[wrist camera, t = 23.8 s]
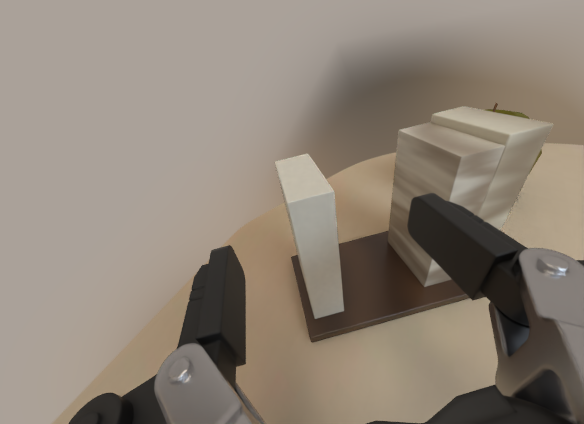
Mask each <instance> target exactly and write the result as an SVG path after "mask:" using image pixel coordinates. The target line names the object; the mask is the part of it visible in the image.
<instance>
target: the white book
mask: <svg viewBox="0 0 584 424" xmlns="http://www.w3.org/2000/svg"><path fill="white" fill-rule="evenodd" d="M275 165H276V169H277V173H278V177H279V181H280V185H281V189H282V193H283V197H284V202H285V206H286V210H287V214H288V218H289V222H290V226H291V230H292V234H293V238H294V242H295V246H296V250H297V254H298V258H299V262H300V266H301V270H302V274H303V277H304V281H305V285H306V288H307V292H308V296H309V300H310V303H311V307H312V311H313V314H314V318H315V319H317V318H320V317H324V316H328V315H331V314H335V313H339V312H342V311H344V303H343V291H342V279H341V267H340V255H339V243H338V231H337V219H336V207H335V195H334V190H333V189H332V187H331V186H330V184H329V183H328V182H327V180H326V179H325V177H324V176H323V174H322V173H321V172H320V170H319V169H318V168H317V166H316V164H315V163H314V161H313V160H312V159H311V157H310V156H309V154H303V155H299V156H296V157H291V158H288V159H284V160H279V161H276V162H275Z"/></svg>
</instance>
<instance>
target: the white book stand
mask: <svg viewBox="0 0 584 424" xmlns="http://www.w3.org/2000/svg"><path fill="white" fill-rule="evenodd" d="M552 126H553V124H552V123H548V122H543V121H537V120H532V119H527V118H522V117H517V116H511V115H506V114H501V113H496V112H491V111H485V110H480V109H475V108H470V107H465V106H463V107H459V108H455V109H451V110H447V111H443V112H439V113H435V114H433V115H432V119H431V122H429V123H425V124H421V125H417V126H413V127H409V128H405V129H402V130H399V133H398V143H397V153H396V163H395V173H394V183H393V193H392V203H391V213H390V223H389V231H386V232H382V233H379V234H375V235H371V236H367V237H364V238H360V239H356V240H352V241H349V242H345V243H341V244H339V255H340V267H341V279H342V291H343V303H344V311H342V312H339V313H335V314H331V315H328V316H324V317H320V318H317V319H315V318H314V314H313V311H312V307H311V303H310V300H309V296H308V292H307V288H306V285H305V281H304V277H303V274H302V270H301V266H300V262H299V258H298V255H296V256H292V257H291V258H292V263H293V267H294V271H295V275H296V280H297V284H298V288H299V292H300V297H301V301H302V305H303V309H304V313H305V318H306V322H307V326H308V330H309V335H310V339H311V342H315V341H318V340H322V339H326V338H329V337H333V336H336V335H340V334H343V333H347V332H350V331H354V330H357V329H361V328H365V327H368V326H372V325H375V324H379V323H382V322H386V321H389V320H393V319H397V318H400V317H404V316H407V315H411V314H414V313H418V312H421V311H425V310H428V309H432V308H436V307H439V306H443V305H446V304H450V303H453V302H457V301H460V300H464V299H467V298H470V297H469V296H468V295H467V294H466V293H465V292H464V291H463V290H462V289H461V288H460V287H459V286H458V285H457V284H456V283H455V282H454V281H453V280H452V279H451V278H450V277H449V276H448V275H447V274H446V272H445V271H444V270H443V269H442V268H441V267H440V266H439V265H438V264H437V263H436V262H435V261H434V260H433V259H432V258H431V257H430V256H429V255H428V254H427V253H426V252H425V251H424V250H423V249H422V248H421V247H420V246H419V245H418V243H417V242H416V241H415V240H414V239H413V238H412V237H411V236H410V234H409V232H408V228H407V223H408V217H409V211H410V205H411V200H412V199H413V198H414V197H417V196H421V195H425V194H428V193H435V194H437V195H438V196H439V197H441V198H442V199H444V200H445V201H450V202H452V203H455V204H458V205H461V206H463V207H465V208H466V209H468V210H469V211H471V212H472V213H474V215H477V216H478V217H480V218H481V219H483V220H484V222H488V223H489V224H491V225H492V226H494V227H495V228H497V229H498V230H501V228H502V226H503V224H504V222H505V220H506V218H507V216H508V214H509V212H510V210H511V208H512V206H513V204H514V202H515V200H516V198H517V196H518V194H519V192H520V190H521V188H522V186H523V184H524V182H525V180H526V178H527V176H528V174H529V172H530V170H531V168H532V166H533V164H534V162H535V160H536V158H537V156H538V154H539V152H540V150H541V148H542V146H543V144H544V142H545V140H546V138H547V136H548V134H549V132H550V130H551V128H552Z"/></svg>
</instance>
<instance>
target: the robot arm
mask: <svg viewBox="0 0 584 424" xmlns="http://www.w3.org/2000/svg"><path fill="white" fill-rule="evenodd" d="M407 228H408V232H409V234H410V236H411V237H412V238H413V239H414V240H415V241H416V242H417V243H418V245H419V246H420V247H421V248H422V249H423V250H424V251H425V252H426V253H427V254H428V255H429V256H430V257H431V258H432V259H433V260H434V261H435V262H436V263H437V264H438V265H439V266H440V267H441V268H442V269H443V270H444V271H445V272H446V274H447V275H448V276H449V277H450V278H451V279H452V280H453V281H454V282H455V283H456V284H457V285H458V286H459V287H460V288H461V289H462V290H463V291H464V292H465V293H466V294H467V295H468V296H469V297H470V298H471V299H472V300H476V299H479V298H483V297H487V298H488V299H489V300H490V301H491V302H490V303H489V312H490V317H491V323H492V328H493V333H494V339H495V344H496V350H497V355H498V368H497V371H496V378H495V385H492V386H489V387H486V388H482V389H479V390H476V391H473V392H469V393H466V394H463V395H459V396H457V397H455V398H454V399H453V400H452V401H451V402H450V403H448V404H447V405H446V406H445V407H444V408H442V409H441V410H440V411H439V412H438V413H437V414H435V415H434V416H433V417H432V418H431V419H430V420H428V421H427V422H425V423H404V422H388V421H374V422H370V423H367V424H584V260H574V259H573V258H571V257H569V256H567V255H565V254H562V253H559V252H556V251H553V250H549V249H543V248H530V249H528V248H526V247H525V246H523V245H521V244H520V243H518V242H517V241H515V240H514V239H512V238H511V237H509V236H508V235H506V234H505V233H503V232H501V231H500V230H498V229H497V228H495V227H494V226H492V225H491V224H489V223H488V222H484V220H483V219H481V218H480V217H478V216H477V215H474V213H472V212H471V211H469V210H468V209H466V208H465V207H463V206H461V205H458V204H455V203H452V202H450V201H445V200H444V199H442V198H441V197H439V196H438V195H437V194H435V193H428V194H425V195H421V196H417V197H414V198H413V199H412V200H411V205H410V211H409V217H408V223H407ZM189 300H190V301H189V302H188V306H187V310H186V315H185V319H184V323H183V327H182V331H181V336H180V340H179V343H178V347H177V349H176V350H175V351H173V352H172V353H171V354H170V355H169V356H168V357H167V358H166V360H165V361H164V362H163V364H162V365H161V367H160V369H159V371H158V373H157V374H156V375H155V376H154V377H152V378H151V379H149V380H148V381H146V382H144V383H143V384H141V385H140V386H138V387H137V388H135V389H133V390H132V391H130V392H129V393H127V394H125V395H124V396H122V397H121V396H119V395H116V394H114V393H105V394H102V395H99V396H97V397H96V398H94V399H92V400H91V401H90V402H88V403H87V404H86V405H85V406H84V407H82V408H81V409H80V410H79V411H78V412H77V414H76V415H75V416H74V417H73V418H72V419H71V421H70V422H69V424H266V423H265V421H264V420H263V419H262V417H261V416H260V415H259V413H258V412H257V410H256V409H255V408H254V406H253V405H252V404H251V402H250V401H249V399H248V398H247V397H246V395H245V394H244V392H243V391H242V390H241V388H240V387H239V386H238V384H237V383H236V382H235V381H236V367H237V366H241V365H244V364H246V295H245V275H244V271H243V269H242V266H241V264H240V262H239V260H238V258H237V256H236V254H235V252H234V250H233V248H232V247H231V246H230V245H229V246H225V247H221V248H218V249H214V250H212V251H211V254H210V260H209V264H206V265H202V266H201V268H200V269H199V271H198V272H197V274H196V275H195V277H194V281H193V285H192V291H191V294H190V298H189Z"/></svg>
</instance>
